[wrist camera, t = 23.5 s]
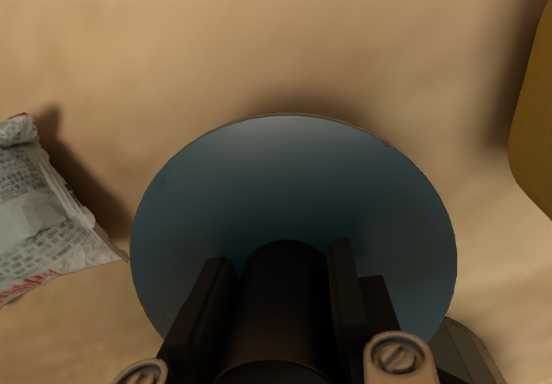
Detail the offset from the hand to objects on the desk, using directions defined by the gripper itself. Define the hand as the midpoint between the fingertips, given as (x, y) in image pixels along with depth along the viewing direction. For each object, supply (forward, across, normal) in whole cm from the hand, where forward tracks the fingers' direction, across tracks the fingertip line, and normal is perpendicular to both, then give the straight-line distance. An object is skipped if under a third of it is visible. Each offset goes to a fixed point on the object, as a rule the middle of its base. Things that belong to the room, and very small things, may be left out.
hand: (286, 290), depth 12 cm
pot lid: (+1, 0, 0) cm, 1 cm away
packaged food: (+9, +16, -1) cm, 18 cm away
